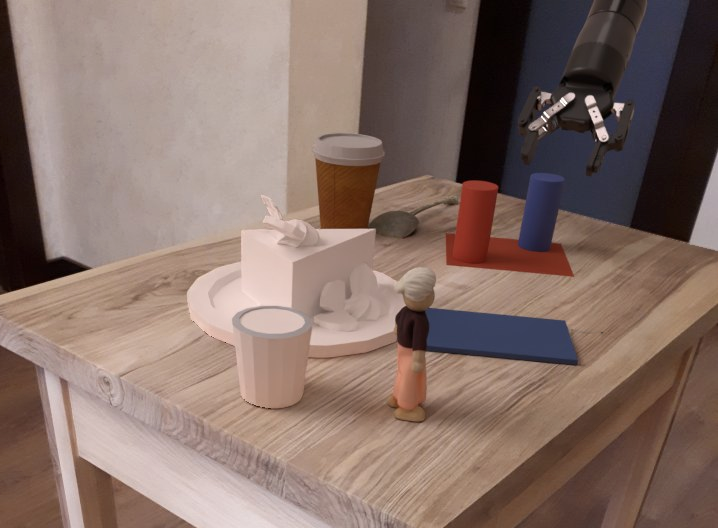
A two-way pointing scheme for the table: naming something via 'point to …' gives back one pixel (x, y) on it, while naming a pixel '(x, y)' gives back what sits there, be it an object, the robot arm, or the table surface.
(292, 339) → the white tapered cup
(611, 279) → the table surface
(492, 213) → the red cylinder
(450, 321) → the blue mat
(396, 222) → the soupspoon
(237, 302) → the dish
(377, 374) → the table surface
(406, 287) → the grandmother figurine
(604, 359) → the table surface
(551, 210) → the blue cylinder
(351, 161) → the disposable coffee cup
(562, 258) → the red mat
